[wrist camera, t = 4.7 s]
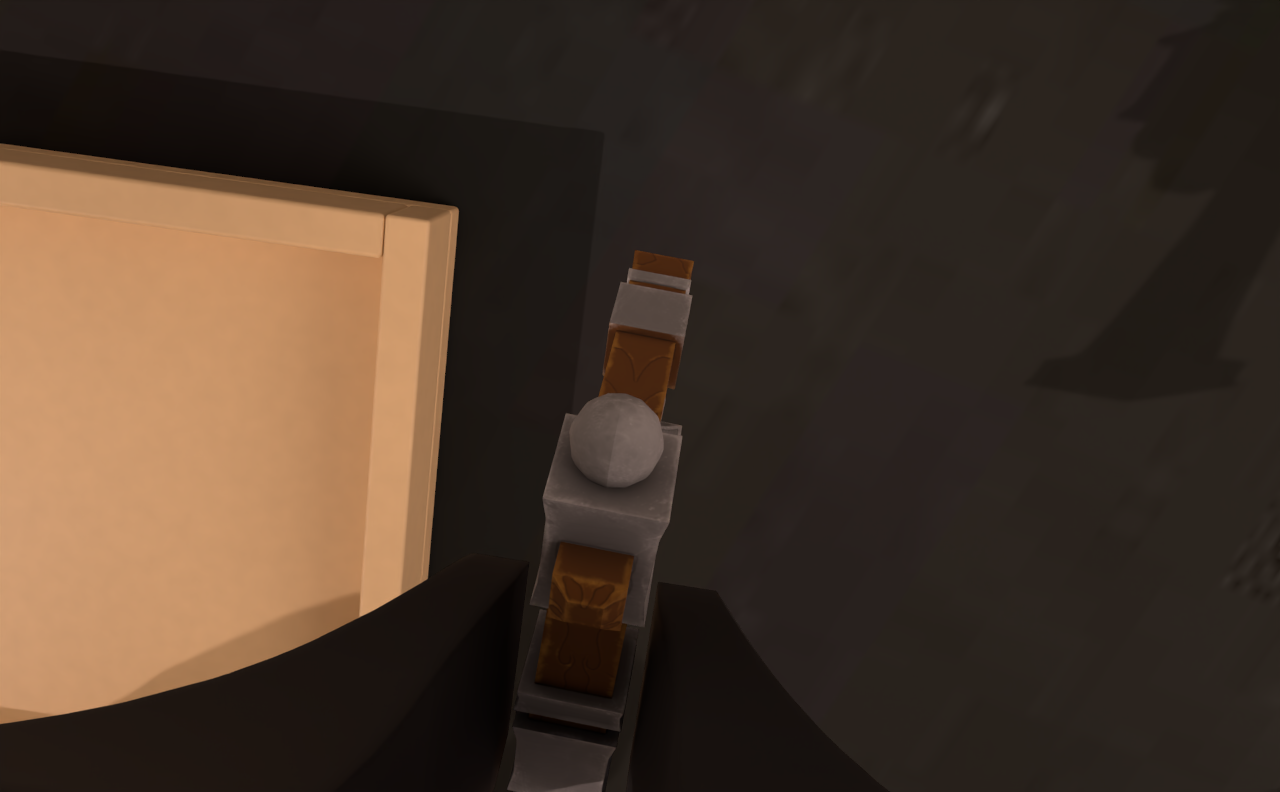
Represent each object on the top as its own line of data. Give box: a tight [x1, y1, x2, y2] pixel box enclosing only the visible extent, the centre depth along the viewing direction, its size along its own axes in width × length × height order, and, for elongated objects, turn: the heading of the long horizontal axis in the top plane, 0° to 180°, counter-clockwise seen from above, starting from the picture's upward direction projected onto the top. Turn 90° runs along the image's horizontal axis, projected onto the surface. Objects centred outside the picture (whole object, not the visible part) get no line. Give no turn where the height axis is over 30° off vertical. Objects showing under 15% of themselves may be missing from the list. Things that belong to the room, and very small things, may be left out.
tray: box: [0, 143, 459, 724], centre depth 20 cm, size 13×12×2 cm
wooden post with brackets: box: [507, 250, 694, 792], centre depth 12 cm, size 2×8×4 cm, turn 170°
